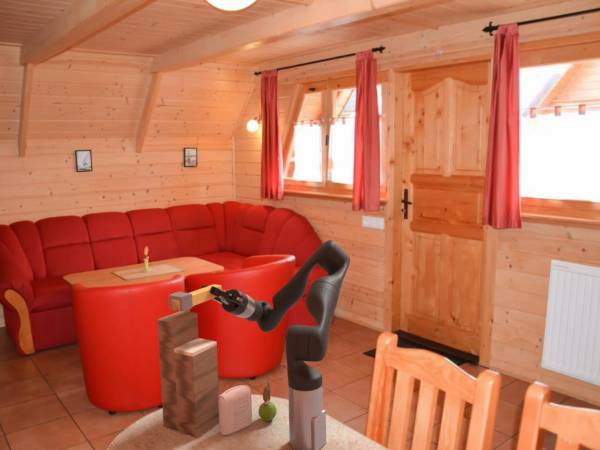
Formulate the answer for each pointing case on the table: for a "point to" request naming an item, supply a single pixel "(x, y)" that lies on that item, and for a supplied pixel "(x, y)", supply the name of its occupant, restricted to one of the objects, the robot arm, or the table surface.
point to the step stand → (187, 375)
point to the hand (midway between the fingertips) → (206, 288)
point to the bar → (190, 298)
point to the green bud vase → (267, 404)
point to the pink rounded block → (235, 409)
